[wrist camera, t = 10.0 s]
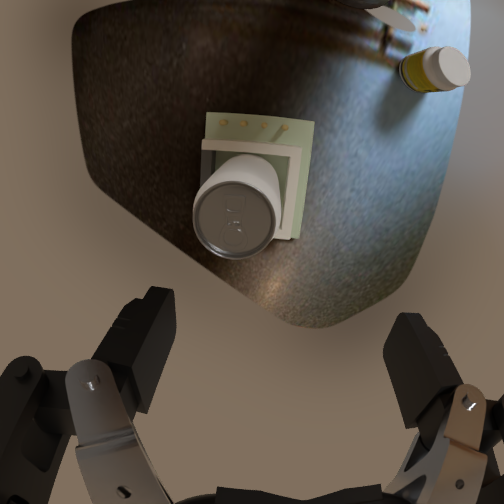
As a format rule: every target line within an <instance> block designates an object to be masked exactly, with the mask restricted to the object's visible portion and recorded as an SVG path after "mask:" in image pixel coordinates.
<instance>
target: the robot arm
mask: <svg viewBox="0 0 504 504" xmlns="http://www.w3.org/2000/svg"><path fill="white" fill-rule="evenodd" d="M337 1H339V2H341V3H343V4H345V5H348V6H351V7H354V8H360V9H373V8H378V7H380V6H383V5H384V4H385V3H386V2H388V1H389V0H337ZM175 334H176V312H175V298H174V291H173V289H168V288H161V287H155V286H151V287H150V288H149V290H148V291H147V293H146V295H145V296H144V298H143V299H138V298H135V299H134V300H132V301H131V302H129V303H128V304H126V305H125V306H124V307H123V309H122V310H121V312H120V313H119V315H118V318H116V320H115V321H114V323H113V324H112V327H110V329H109V331H108V332H107V334H106V336H105V337H104V339H103V340H102V342H101V343H100V345H99V346H98V348H97V350H96V352H95V353H94V355H93V356H92V358H91V359H87V360H82V361H80V362H77V363H76V364H74V365H73V366H72V367H71V368H70V369H69V371H54V370H43V368H42V366H41V364H40V363H39V361H38V360H37V359H35V358H34V357H30V356H21V357H18V358H16V359H14V360H13V361H11V363H9V364H8V366H7V367H6V369H5V370H4V372H3V373H2V375H1V376H0V504H48V501H49V498H50V495H51V491H52V488H53V485H54V482H55V479H56V475H57V473H58V469H59V466H60V464H61V461H62V458H63V455H64V453H65V450H66V447H67V445H68V442H69V439H70V437H71V435H76V436H77V438H78V442H79V445H78V446H76V448H75V451H76V457H77V461H78V464H79V467H80V470H81V473H82V476H83V479H84V482H85V485H86V487H87V490H88V493H89V495H90V498H91V500H92V503H93V504H174V502H173V500H172V499H171V497H170V495H169V494H168V492H167V490H166V488H165V487H164V485H163V483H162V481H161V480H160V478H159V476H158V474H157V472H156V471H155V469H154V467H153V465H152V463H151V461H150V459H149V457H148V455H147V453H146V451H145V449H144V447H143V444H142V442H141V440H140V438H139V436H138V433H137V431H136V429H135V426H134V424H133V419H134V416H135V413H136V411H137V412H141V413H145V414H147V413H148V410H149V407H150V404H151V401H152V398H153V396H154V393H155V390H156V387H157V384H158V382H159V379H160V376H161V374H162V371H163V368H164V365H165V363H166V360H167V358H168V355H169V352H170V350H171V347H172V344H173V342H174V339H175ZM383 358H384V361H385V364H386V367H387V370H388V373H389V376H390V379H391V382H392V385H393V388H394V391H395V394H396V397H397V401H398V404H399V407H400V410H401V414H402V417H403V421H404V424H405V428H406V429H409V428H415V427H418V429H419V432H418V433H417V434H416V435H415V437H414V439H413V442H412V444H411V446H410V449H409V451H408V453H407V455H406V457H405V459H404V461H403V463H402V465H401V467H400V469H399V471H398V473H397V475H396V476H395V478H394V479H393V480H392V482H391V483H390V484H389V485H388V486H387V487H386V488H385V490H384V491H383V492H382V490H381V484H377V485H371V486H363V487H356V488H347V489H343V490H340V491H337V492H334V493H330V494H327V495H324V496H321V497H317V498H313V499H310V500H297V499H292V498H288V497H283V496H279V495H275V494H271V493H267V492H263V491H257V490H244V489H234V488H224V487H217V491H216V494H205V495H199V496H195V497H191V498H187V499H185V500H182V501H179V502H177V503H175V504H504V474H503V475H502V476H500V472H499V469H498V465H497V461H496V458H495V454H494V451H493V447H494V446H495V445H496V444H497V443H498V442H500V441H501V440H502V439H503V442H504V394H503V396H502V397H501V398H500V399H499V400H498V401H493V400H487V399H485V397H484V395H483V393H482V392H481V391H480V390H479V389H478V388H477V387H475V386H473V385H470V384H464V383H463V381H462V379H461V377H460V375H459V373H458V371H457V369H456V367H455V366H454V363H453V362H452V360H451V358H450V356H448V352H447V350H446V349H445V348H444V345H443V343H442V342H441V340H440V338H439V337H438V335H437V334H436V333H435V332H434V331H433V330H432V329H431V328H430V327H428V326H427V324H426V322H425V321H424V319H423V317H422V316H421V315H420V314H419V313H403V312H402V313H400V314H399V315H398V316H397V318H396V321H395V323H394V325H393V327H392V329H391V332H390V334H389V336H388V338H387V340H386V342H385V344H384V348H383Z"/></svg>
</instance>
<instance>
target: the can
mask: <svg viewBox="0 0 504 504" xmlns="http://www.w3.org/2000/svg"><path fill="white" fill-rule="evenodd" d="M280 221H281V200H280V190H279V182H278V177H277V174H276V171H275V170H274V168H273V166H272V165H271V164H270V163H269V162H268V161H267V160H265V159H264V158H262V157H260V156H257V155H254V154H241V155H237V156H234V157H232V158H231V159H229V160H228V161H226V162H225V163H224V164H223V165H222V166H221V167H220V168H219V169H218V170H217V171H216V172H215V173H214V174H213V175H212V176H211V177H210V178H209V179H208V180H207V181H206V182H205V183H204V184H203V185H202V187H201V188H200V189H199V191H198V193H197V195H196V197H195V200H194V204H193V226H194V230H195V233H196V235H197V237H198V239H199V241H200V242H201V243H202V244H203V246H204V247H205V248H206V249H208V250H209V251H210V252H212V253H213V254H215V255H217V256H219V257H222V258H226V259H232V260H240V259H246V258H250V257H252V256H254V255H256V254H258V253H260V252H261V251H262V250H263V249H265V248H266V246H267V245H268V244H269V243H270V241H271V240H272V239H273V238H274V236H275V235H276V233H277V231H278V228H279V225H280Z"/></svg>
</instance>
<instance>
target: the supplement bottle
mask: <svg viewBox="0 0 504 504" xmlns="http://www.w3.org/2000/svg"><path fill="white" fill-rule="evenodd" d="M399 72H400V76H401V79H402V81H403V82H404V84H405V85H406V86H407V87H408V88H409V89H411V90H412V91H414V92H418V93H427V92H440V91H450V90H453V89H455V88H456V87H461V86H464V85H466V84H467V83H468V82H469V80H470V76H471V72H470V66H469V63H468V61H467V59H466V58H465V56H464V55H463V54H462V53H461V52H460V51H459V50H457V49H456V48H453V47H443V48H441V47H430V48H427V49H425V50H422V51H419V52H416V53H414V54H411V55H408V56H406V57H405V58H403V59H402V61H401V63H400V66H399Z"/></svg>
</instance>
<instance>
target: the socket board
mask: <svg viewBox="0 0 504 504" xmlns="http://www.w3.org/2000/svg"><path fill="white" fill-rule="evenodd" d="M314 124H315V122H313V121H306V120H299V119H291V118H283V117H273V116H263V115H251V114H236V113H214V112H207V115H206V130H205V139H202V152H201V175H200V188H201V187H202V185H203V184H204V183H205V182H206V181H207V180H208V179H209V178H210V177H211V176H212V175H213V174H214V173H215V172H216V171H217V170H218V169H219V168H220V167H221V166H222V165H223V164H224V163H225V162H226V161H228V160H229V159H231V158H232V157H234V156H237V155H241V154H254V155H257V156H260V157H262V158H264V159H265V160H267V161H268V162H269V163H270V164H271V165H272V166H273V168H274V170H275V171H276V174H277V177H278V182H279V190H280V200H281V221H280V225H279V228H278V231H277V233H276V235H275V236H274V238H277V239H286V240H290V238H297V239H299V235H300V228H301V222H302V215H303V209H304V202H305V195H306V188H307V180H308V173H309V165H310V157H311V149H312V141H313V133H314Z"/></svg>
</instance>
